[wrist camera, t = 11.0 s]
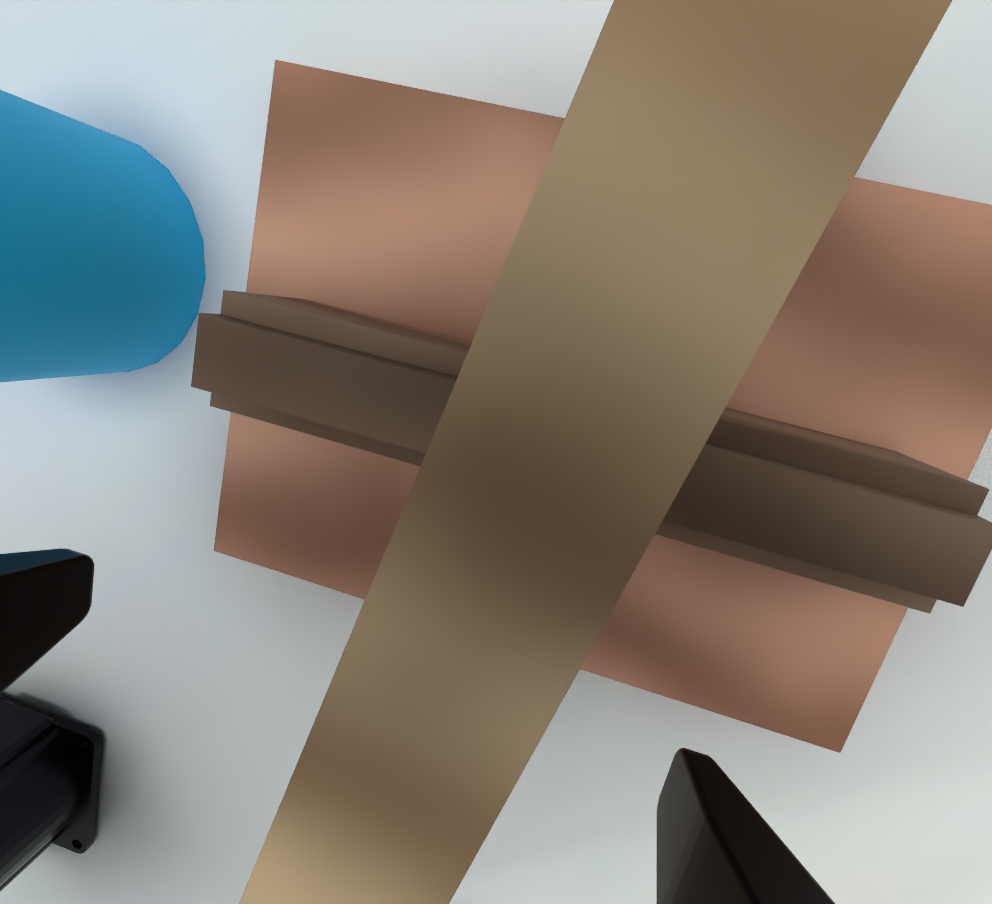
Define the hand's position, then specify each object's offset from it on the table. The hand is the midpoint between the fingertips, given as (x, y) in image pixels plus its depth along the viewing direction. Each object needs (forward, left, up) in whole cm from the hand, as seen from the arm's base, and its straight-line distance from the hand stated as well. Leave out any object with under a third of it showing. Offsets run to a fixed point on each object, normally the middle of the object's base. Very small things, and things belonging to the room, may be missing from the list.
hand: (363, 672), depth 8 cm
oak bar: (+3, -2, -6) cm, 6 cm away
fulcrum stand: (+3, -2, -12) cm, 12 cm away
